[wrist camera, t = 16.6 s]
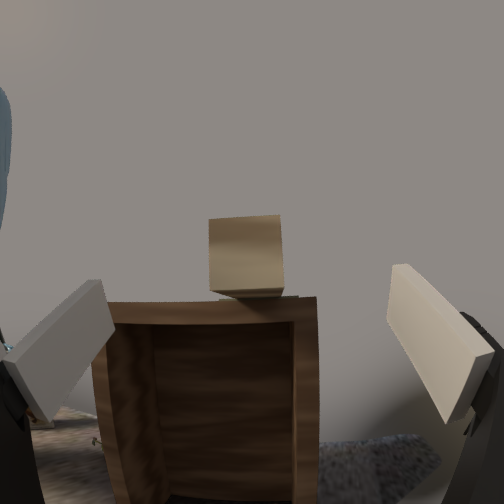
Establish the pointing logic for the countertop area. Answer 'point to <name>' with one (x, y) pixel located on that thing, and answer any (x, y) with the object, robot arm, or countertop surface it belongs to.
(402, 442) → the countertop surface
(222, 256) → the maple bar
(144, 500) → the walnut stand
